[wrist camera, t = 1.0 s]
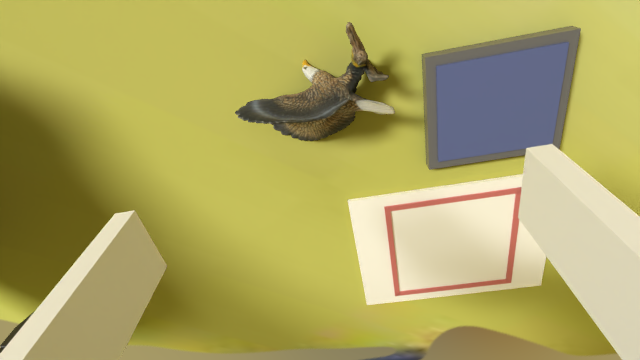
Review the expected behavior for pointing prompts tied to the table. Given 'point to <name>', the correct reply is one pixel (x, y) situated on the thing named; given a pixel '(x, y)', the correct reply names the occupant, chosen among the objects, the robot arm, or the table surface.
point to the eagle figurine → (320, 100)
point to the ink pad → (497, 97)
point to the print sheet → (445, 241)
